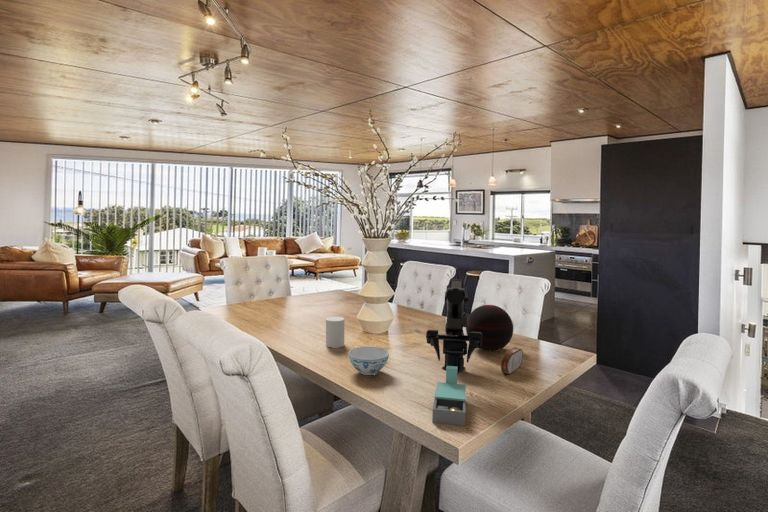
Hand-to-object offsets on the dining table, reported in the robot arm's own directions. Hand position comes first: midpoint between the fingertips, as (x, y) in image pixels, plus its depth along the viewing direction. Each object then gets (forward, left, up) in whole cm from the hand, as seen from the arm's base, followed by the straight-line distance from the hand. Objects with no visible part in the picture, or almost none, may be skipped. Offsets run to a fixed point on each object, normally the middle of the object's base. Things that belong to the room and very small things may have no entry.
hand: (453, 361), depth 142 cm
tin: (+5, +33, -11) cm, 35 cm away
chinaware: (-32, -7, -11) cm, 35 cm away
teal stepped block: (+5, -8, -10) cm, 14 cm away
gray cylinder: (-66, +6, -11) cm, 67 cm away
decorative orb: (-14, +49, -11) cm, 52 cm away
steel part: (+9, -18, -10) cm, 23 cm away
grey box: (+9, -16, -11) cm, 21 cm away
